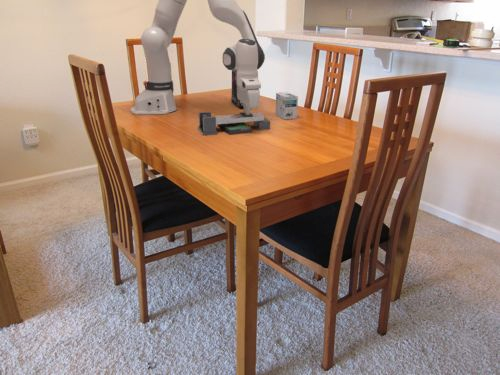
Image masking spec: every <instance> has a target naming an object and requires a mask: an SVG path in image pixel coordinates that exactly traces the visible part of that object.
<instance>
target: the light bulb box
mask: <svg viewBox="0 0 500 375" xmlns="http://www.w3.org/2000/svg"><path fill="white" fill-rule="evenodd" d="M298 102H299V96H298V95H295V94H293V93H291V92H288V91H286V92H285V91H283V92H281V91H280V92H275V115H276V116H278V117H279V118H282V119H283V120H295V119H298V108H299V107H298V104H299V103H298Z"/></svg>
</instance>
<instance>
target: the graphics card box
mask: <svg viewBox="0 0 500 375" xmlns="http://www.w3.org/2000/svg"><path fill="white" fill-rule="evenodd" d="M231 103H233V105H235V106H236V107H238V108H239V109H244V106H243V102H241V101H240V100H239V99H238V98H237V70H231Z"/></svg>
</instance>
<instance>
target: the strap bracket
mask: <svg viewBox="0 0 500 375" xmlns="http://www.w3.org/2000/svg"><path fill="white" fill-rule="evenodd" d="M209 116H212V117H209ZM215 116H216V115H212V111H210V110H209V111H199V112H198V125H197V129H198V130H199V132H200V133H201V134H202V136H213V135H218V131H217V124H216V117H215ZM252 123H253V126H254V127H255V128H256V129H257V130H259V131H261V130H262V131H263V130H265V131H266V130H271V120H270V119H268V118H267V117H265V116H264V121H252Z"/></svg>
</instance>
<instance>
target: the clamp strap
mask: <svg viewBox="0 0 500 375" xmlns="http://www.w3.org/2000/svg"><path fill="white" fill-rule="evenodd" d="M212 116H213V115H211V116H209V117H212ZM214 116H215V117H216V125H217V124H228V123H240V122H244V123H248V122H249V123H250V122H252V123H253V121H264V117H265V115H264V114H262V113H261V112H250V115H246V114H245V113H244V112H239V113H238V114H237V113H236V114H226V115H225V114H223V115H214Z"/></svg>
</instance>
